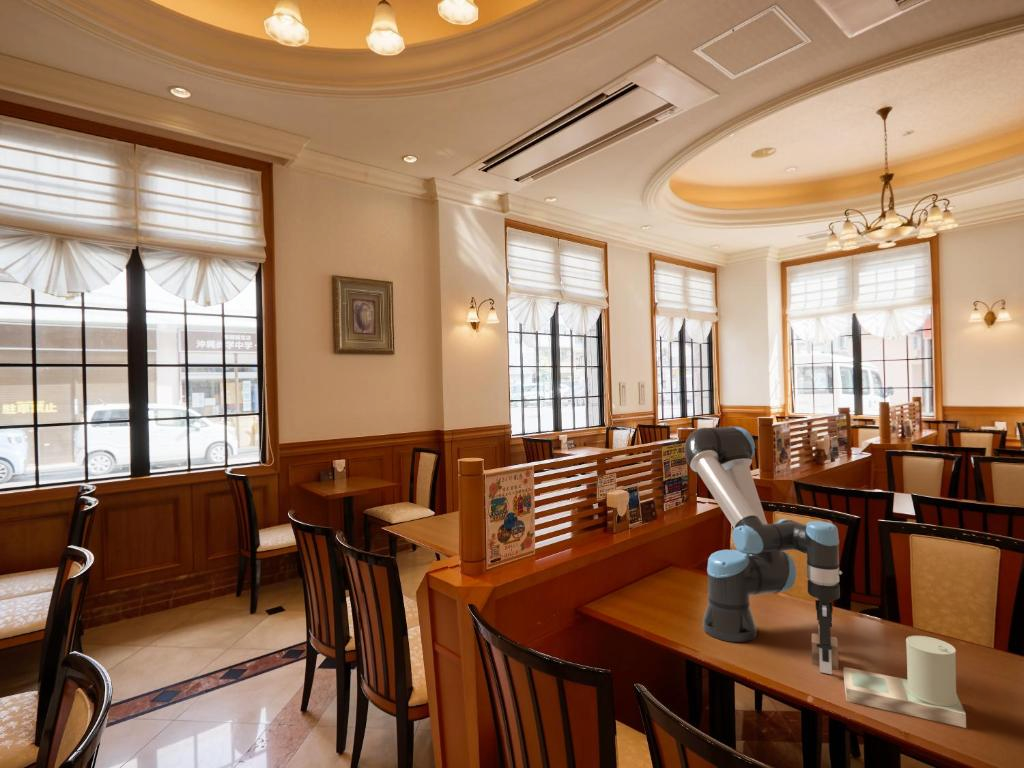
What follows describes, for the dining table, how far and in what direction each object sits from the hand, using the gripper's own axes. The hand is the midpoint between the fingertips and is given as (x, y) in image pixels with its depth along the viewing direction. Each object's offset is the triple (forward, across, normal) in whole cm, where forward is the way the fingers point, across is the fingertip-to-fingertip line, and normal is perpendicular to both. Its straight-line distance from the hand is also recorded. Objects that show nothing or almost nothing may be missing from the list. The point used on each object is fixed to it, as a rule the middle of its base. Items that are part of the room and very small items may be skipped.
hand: (825, 661), depth 145 cm
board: (0, -13, -15) cm, 20 cm away
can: (-3, -13, -21) cm, 25 cm away
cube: (0, 0, 0) cm, 0 cm away
